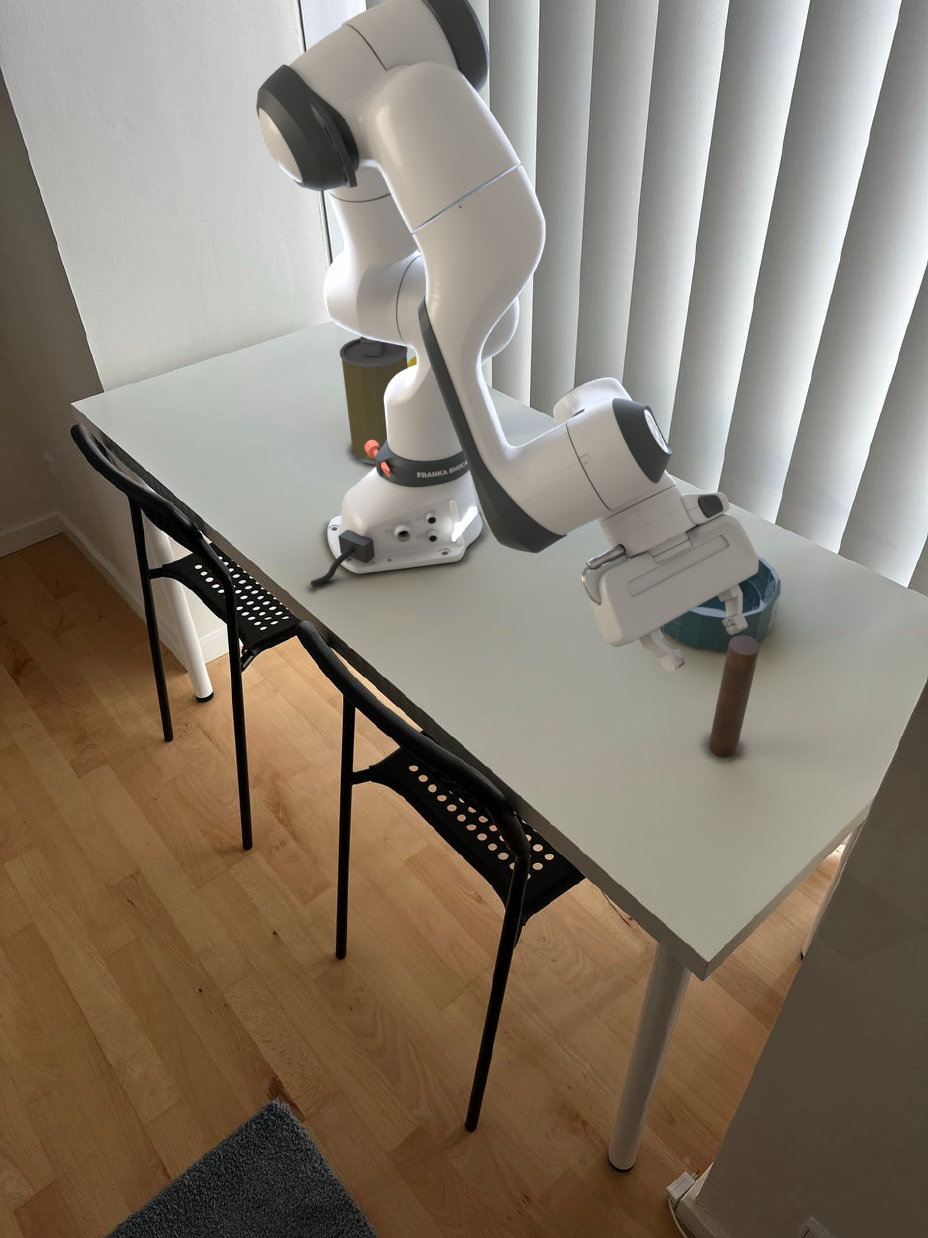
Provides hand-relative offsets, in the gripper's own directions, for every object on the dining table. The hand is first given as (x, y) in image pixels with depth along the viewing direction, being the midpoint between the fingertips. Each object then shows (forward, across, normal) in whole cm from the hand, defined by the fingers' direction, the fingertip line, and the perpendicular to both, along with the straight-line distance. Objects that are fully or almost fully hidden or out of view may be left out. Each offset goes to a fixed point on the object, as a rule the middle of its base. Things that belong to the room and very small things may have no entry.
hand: (708, 649), depth 98 cm
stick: (+11, +1, +6) cm, 13 cm away
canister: (-45, +7, +62) cm, 77 cm away
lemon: (-53, +23, +70) cm, 90 cm away
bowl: (0, +17, +17) cm, 24 cm away
